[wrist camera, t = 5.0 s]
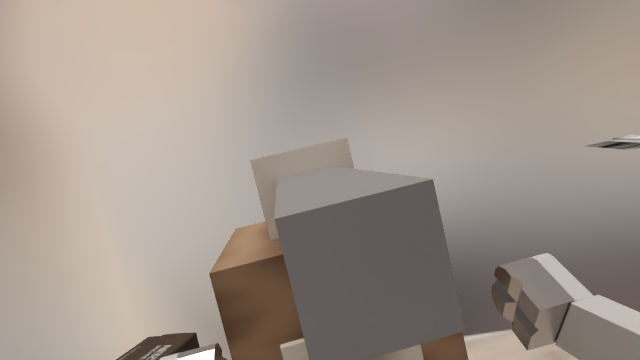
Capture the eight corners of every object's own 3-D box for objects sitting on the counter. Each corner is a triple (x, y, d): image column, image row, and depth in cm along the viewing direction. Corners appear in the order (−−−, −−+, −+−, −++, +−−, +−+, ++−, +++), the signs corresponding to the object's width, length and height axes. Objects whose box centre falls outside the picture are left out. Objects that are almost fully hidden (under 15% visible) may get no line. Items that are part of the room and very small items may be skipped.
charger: (256, 392, 8) (195, 162, 8) (272, 223, 29) (256, 160, 28) (516, 316, 9) (473, 98, 8) (347, 204, 29) (332, 141, 29)
